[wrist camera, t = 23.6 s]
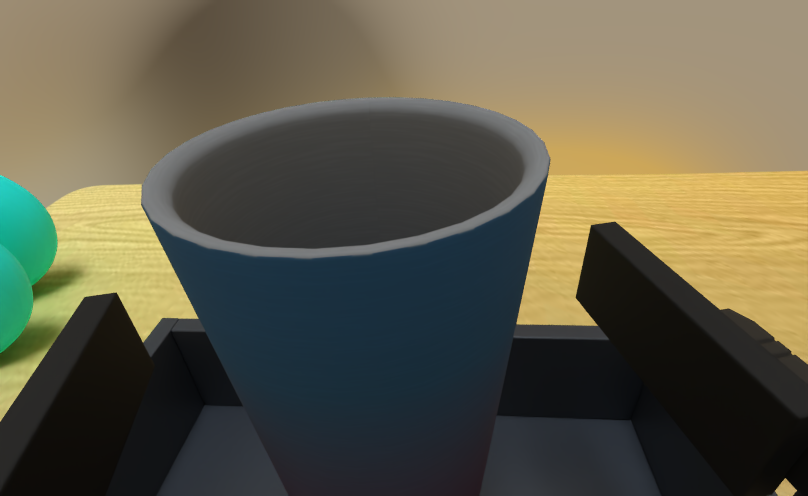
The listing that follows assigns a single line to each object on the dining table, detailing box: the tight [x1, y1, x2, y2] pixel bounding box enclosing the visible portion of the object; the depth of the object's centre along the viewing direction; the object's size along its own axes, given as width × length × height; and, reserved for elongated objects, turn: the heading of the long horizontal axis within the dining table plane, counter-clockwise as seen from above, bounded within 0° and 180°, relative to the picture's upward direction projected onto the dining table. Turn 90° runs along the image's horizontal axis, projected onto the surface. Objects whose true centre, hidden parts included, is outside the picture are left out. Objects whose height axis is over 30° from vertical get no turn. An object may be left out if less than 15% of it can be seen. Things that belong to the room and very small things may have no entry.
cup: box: [141, 97, 550, 496], centre depth 12 cm, size 7×7×15 cm
